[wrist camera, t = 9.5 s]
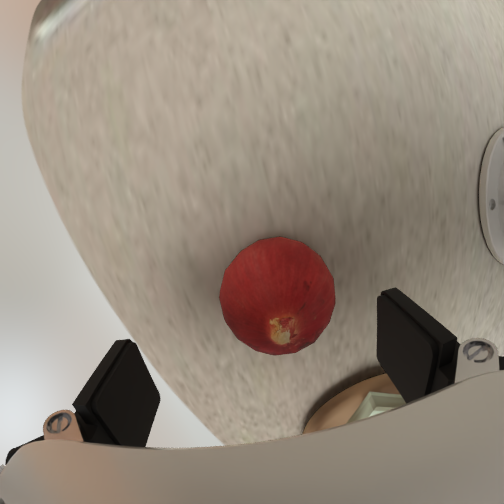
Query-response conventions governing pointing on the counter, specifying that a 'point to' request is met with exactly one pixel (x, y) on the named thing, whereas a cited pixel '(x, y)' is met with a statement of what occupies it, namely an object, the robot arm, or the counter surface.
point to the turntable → (357, 404)
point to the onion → (277, 296)
